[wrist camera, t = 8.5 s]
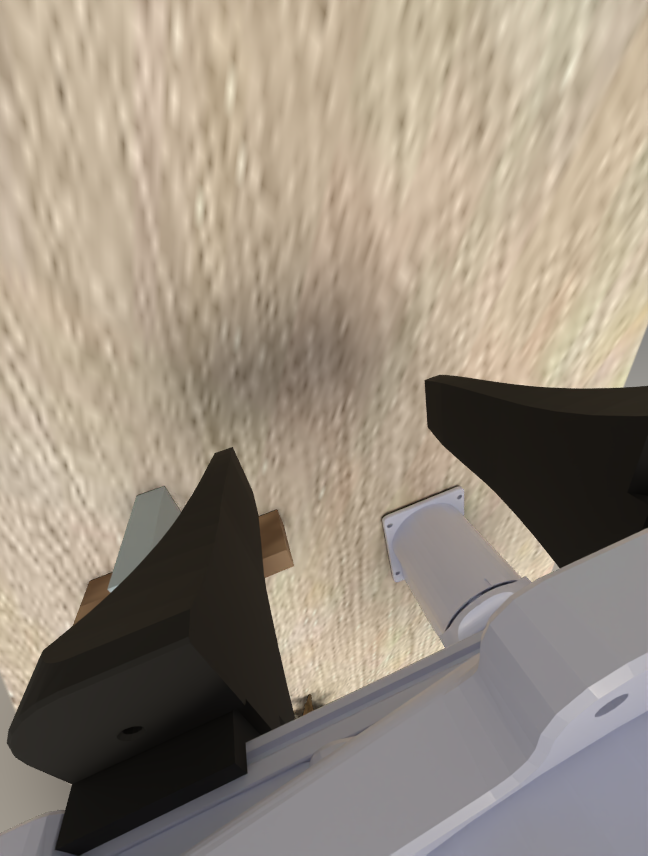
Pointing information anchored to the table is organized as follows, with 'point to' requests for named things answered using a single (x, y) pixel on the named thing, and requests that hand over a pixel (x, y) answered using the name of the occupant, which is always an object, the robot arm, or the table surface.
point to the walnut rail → (272, 553)
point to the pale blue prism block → (144, 531)
